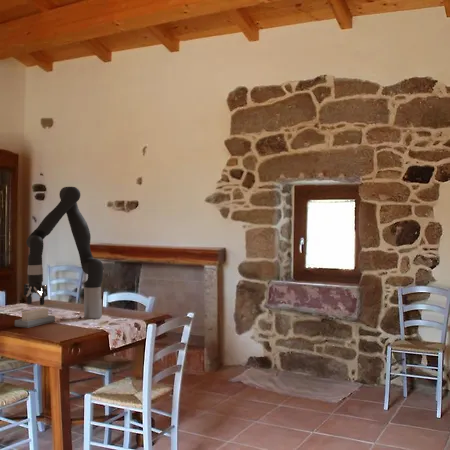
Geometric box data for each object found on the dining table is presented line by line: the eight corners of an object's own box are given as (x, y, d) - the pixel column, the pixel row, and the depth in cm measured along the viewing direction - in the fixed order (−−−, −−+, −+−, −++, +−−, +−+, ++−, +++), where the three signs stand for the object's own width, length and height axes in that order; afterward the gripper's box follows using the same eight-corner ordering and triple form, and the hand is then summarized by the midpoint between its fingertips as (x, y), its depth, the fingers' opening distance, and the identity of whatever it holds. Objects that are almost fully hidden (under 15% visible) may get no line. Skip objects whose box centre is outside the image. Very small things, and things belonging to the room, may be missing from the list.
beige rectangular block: (42, 319, 285) (42, 308, 285) (48, 320, 283) (48, 308, 283) (21, 323, 273) (21, 312, 273) (27, 324, 271) (27, 312, 271)
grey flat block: (42, 320, 288) (42, 314, 288) (54, 321, 285) (54, 315, 285) (14, 326, 271) (14, 320, 271) (27, 327, 267) (27, 321, 267)
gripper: (50, 273, 278) (51, 304, 278) (30, 272, 284) (30, 302, 285) (40, 274, 271) (40, 306, 272) (19, 273, 277) (20, 304, 278)
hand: (35, 304), depth 278 cm, fingers open, 8 cm apart
